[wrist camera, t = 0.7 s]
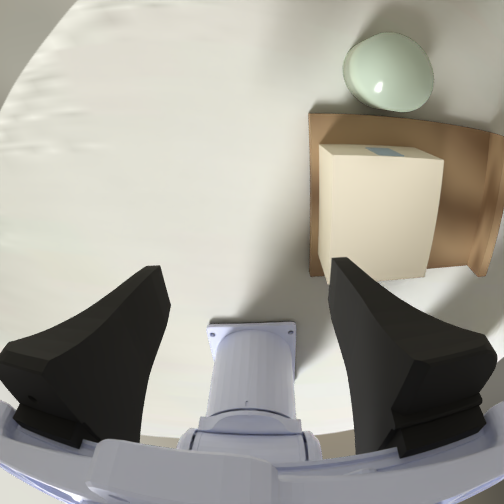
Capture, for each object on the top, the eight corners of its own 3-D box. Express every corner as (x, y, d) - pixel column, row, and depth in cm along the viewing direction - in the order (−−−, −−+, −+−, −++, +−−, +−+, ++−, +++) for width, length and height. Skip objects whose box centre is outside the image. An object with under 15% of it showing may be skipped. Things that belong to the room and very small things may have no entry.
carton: (403, 249, 22) (424, 277, 18) (317, 254, 22) (327, 285, 18) (414, 146, 18) (444, 159, 14) (318, 143, 18) (332, 154, 15)
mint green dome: (409, 111, 17) (434, 116, 14) (344, 106, 18) (360, 108, 15) (406, 46, 15) (430, 40, 12) (340, 37, 15) (355, 26, 12)
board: (470, 260, 23) (485, 275, 20) (309, 271, 24) (314, 292, 21) (491, 132, 17) (512, 139, 14) (308, 113, 18) (315, 115, 15)
